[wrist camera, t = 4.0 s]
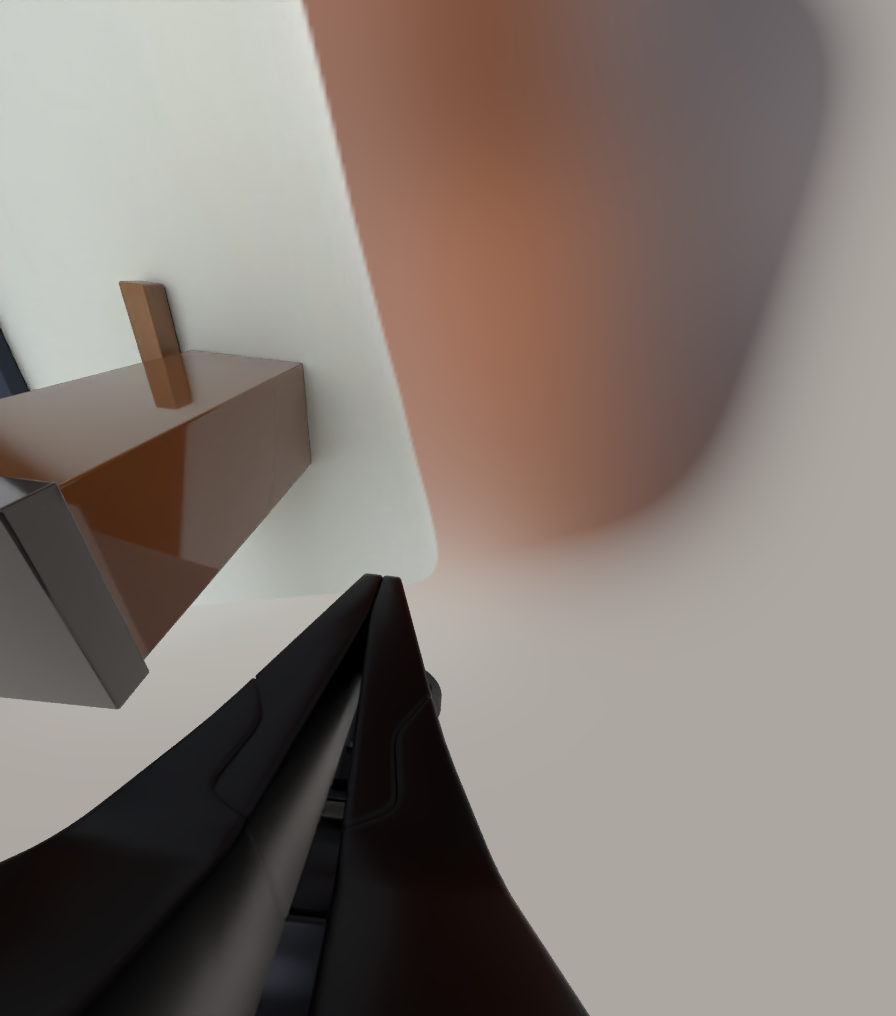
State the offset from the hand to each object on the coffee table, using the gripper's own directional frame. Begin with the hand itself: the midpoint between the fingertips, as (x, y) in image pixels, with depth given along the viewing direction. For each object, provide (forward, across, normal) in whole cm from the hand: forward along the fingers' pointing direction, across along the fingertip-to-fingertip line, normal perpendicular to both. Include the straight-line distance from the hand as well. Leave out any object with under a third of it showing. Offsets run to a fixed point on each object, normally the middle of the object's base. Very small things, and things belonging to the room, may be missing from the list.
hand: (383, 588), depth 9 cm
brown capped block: (+11, +8, 0) cm, 14 cm away
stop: (+11, +12, 0) cm, 16 cm away
